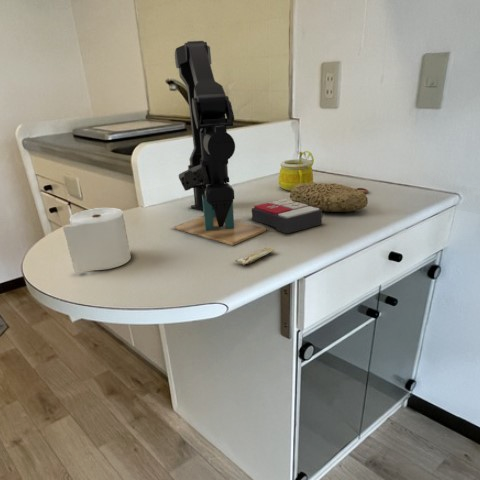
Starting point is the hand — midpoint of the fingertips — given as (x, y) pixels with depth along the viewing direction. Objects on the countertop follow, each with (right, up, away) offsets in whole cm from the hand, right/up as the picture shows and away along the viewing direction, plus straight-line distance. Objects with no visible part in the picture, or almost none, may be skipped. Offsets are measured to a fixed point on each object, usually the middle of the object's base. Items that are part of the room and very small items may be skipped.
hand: (218, 220), depth 107 cm
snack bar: (+8, -12, -16) cm, 21 cm away
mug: (+23, +17, +32) cm, 43 cm away
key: (+39, +11, +20) cm, 45 cm away
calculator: (+17, 0, +4) cm, 17 cm away
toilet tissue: (-24, -12, -13) cm, 30 cm away
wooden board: (0, -2, +1) cm, 2 cm away
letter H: (0, -1, +1) cm, 2 cm away
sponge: (+29, +6, +12) cm, 32 cm away
